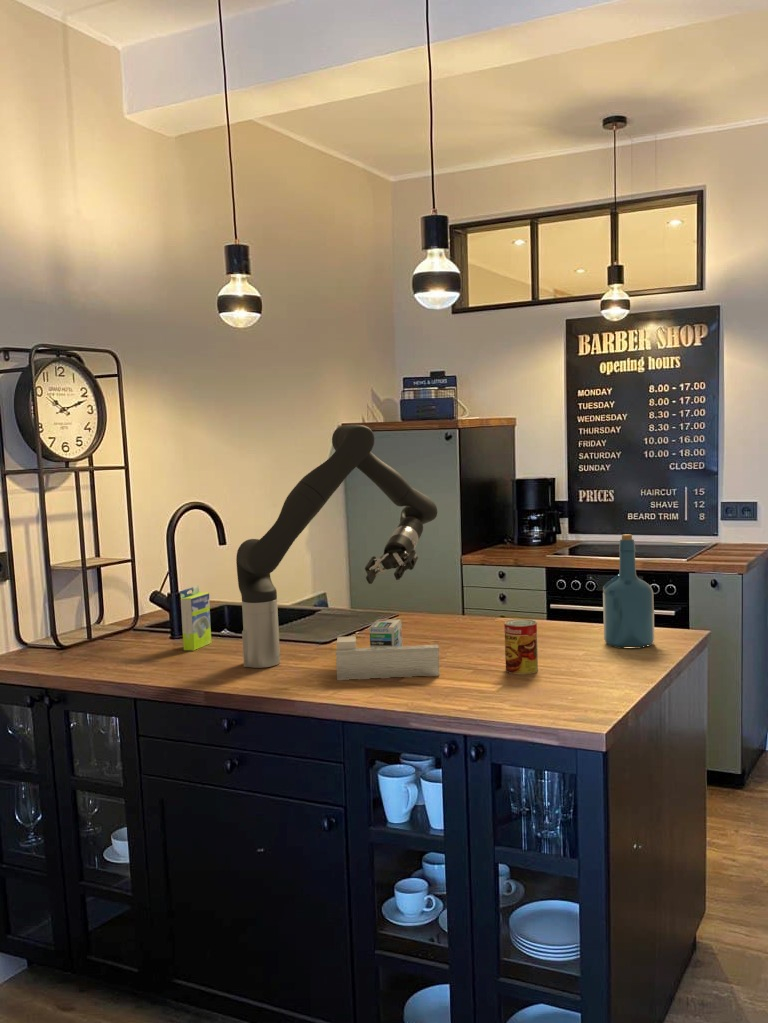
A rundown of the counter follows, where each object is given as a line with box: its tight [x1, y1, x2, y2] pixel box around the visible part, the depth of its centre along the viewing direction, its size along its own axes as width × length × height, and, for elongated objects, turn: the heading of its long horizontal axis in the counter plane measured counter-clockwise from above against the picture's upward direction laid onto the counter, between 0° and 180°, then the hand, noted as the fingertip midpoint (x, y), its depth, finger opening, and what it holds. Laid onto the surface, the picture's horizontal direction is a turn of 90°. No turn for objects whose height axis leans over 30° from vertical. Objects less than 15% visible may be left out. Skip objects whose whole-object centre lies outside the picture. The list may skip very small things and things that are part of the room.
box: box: [179, 585, 212, 651], centre depth 265 cm, size 10×4×17 cm, turn 161°
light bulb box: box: [368, 618, 403, 648], centre depth 236 cm, size 11×7×11 cm, turn 168°
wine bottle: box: [602, 533, 655, 648], centre depth 246 cm, size 14×13×30 cm
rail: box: [335, 644, 440, 681], centre depth 224 cm, size 25×9×7 cm, turn 91°
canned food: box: [504, 618, 539, 675], centre depth 223 cm, size 8×8×12 cm
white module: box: [336, 635, 357, 649], centre depth 226 cm, size 5×6×9 cm
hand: (382, 579), depth 241 cm, fingers open, 8 cm apart
